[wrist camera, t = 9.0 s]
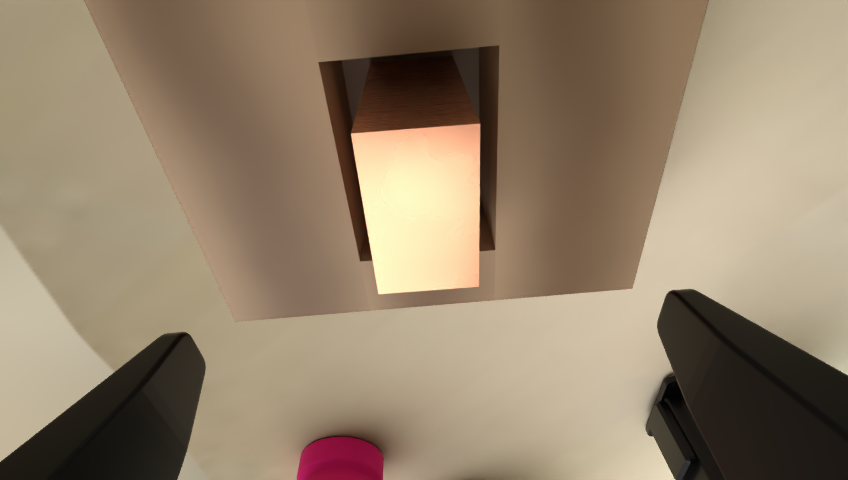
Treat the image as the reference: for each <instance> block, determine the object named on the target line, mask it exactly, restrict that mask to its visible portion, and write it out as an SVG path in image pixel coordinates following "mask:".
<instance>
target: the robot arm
mask: <svg viewBox="0 0 848 480" xmlns="http://www.w3.org/2000/svg"><path fill="white" fill-rule="evenodd" d="M657 329H658V333H659V336H660V339H661V341H662V344H663V346H664V349H665V351H666V354H667V356H668V359H669V361H670V364H671V366H672V369H673V371H674V374H675V376H671V377H668V378H666V379H665V380H664V381H663V384H662V386H661V389H660V392H659V394H658V397H657V400H656V402H655V405H654V407H653V410H652V413H651V415H650V418H649V420H648V423H647V426H646V429H645V430H646V432H647V434H648V435H649V436H654V438H655V440H656V442H657V444H658V446H659V448H660V450H661V452H662V454H663V456H664V458H665V460H666V462H667V464H668V466H669V468H670V470H671V472H672V474H673V476H674V478H675V479H676V480H848V375H846V374H844V373H843V372H841V371H839V370H837V369H835V368H834V367H832V366H830V365H828V364H826V363H825V362H823V361H821V360H819V359H818V358H816V357H814V356H812V355H810V354H809V353H807V352H805V351H803V350H801V349H800V348H798V347H796V346H794V345H793V344H791V343H789V342H787V341H785V340H784V339H782V338H780V337H778V336H777V335H775V334H773V333H771V332H769V331H768V330H766V329H764V328H762V327H760V326H759V325H757V324H755V323H753V322H752V321H750V320H748V319H746V318H744V317H743V316H741V315H739V314H737V313H735V312H734V311H732V310H730V309H728V308H727V307H725V306H723V305H721V304H719V303H718V302H716V301H714V300H712V299H711V298H709V297H707V296H705V295H703V294H702V293H700V292H698V291H696V290H693V289H682V290H672V291H670V292H668V293H667V295H666V297H665V300H664V303H663V306H662V309H661V312H660V315H659V318H658V322H657ZM205 369H206V366H205V361H204V358H203V356H202V354H201V353H200V351H199V349H198V348H197V346H196V344H195V342H194V341H193V339H192V337H191V336H190V335H189V334H188V333H186V332H177V333H167V334H164V335H162V336H160V337H159V338H157V339H156V340H155V341H154V342H152V343H151V344H150V345H149V346H147V347H146V348H145V349H143V350H142V351H141V352H140V353H138V354H137V355H136V356H135V357H133V358H132V359H131V360H129V361H128V362H127V363H126V364H124V365H123V366H122V367H121V368H119V369H118V370H117V371H115V372H114V373H113V374H112V375H110V376H109V377H108V378H107V379H105V380H104V381H103V382H101V383H100V384H99V385H98V386H96V387H95V388H94V389H93V390H91V391H90V392H89V393H87V394H86V395H85V396H84V397H82V398H81V399H80V400H79V401H77V402H76V403H75V404H74V405H72V406H71V407H70V408H68V409H67V410H66V411H65V412H63V413H62V414H61V415H59V416H58V417H57V418H56V419H54V420H53V421H52V422H51V423H49V424H48V425H47V426H45V427H44V428H43V429H42V430H40V431H39V432H38V433H36V434H35V435H34V436H33V437H31V438H30V439H29V440H28V441H26V442H25V443H24V444H23V445H21V446H20V447H19V448H17V449H16V450H15V451H14V452H12V453H11V454H10V455H9V456H7V457H6V458H5V459H3V460H2V461H1V462H0V480H177V479H178V476H179V473H180V470H181V467H182V464H183V461H184V458H185V455H186V452H187V448H188V444H189V441H190V437H191V432H192V428H193V424H194V419H195V415H196V411H197V406H198V402H199V397H200V393H201V389H202V384H203V380H204V376H205Z"/></svg>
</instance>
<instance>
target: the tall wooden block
mask: <svg viewBox="0 0 848 480" xmlns="http://www.w3.org/2000/svg"><path fill="white" fill-rule="evenodd" d="M351 137H352V143H353V149H354V155H355V161H356V166H357V172H358V178H359V184H360V190H361V196H362V201H363V207H364V213H365V219H366V225H367V230H368V236H369V242H370V248H371V254H372V259H373V265H374V271H375V277H376V283H377V288H378V294H388V293H401V292H415V291H428V290H441V289H455V288H468V287H479V216H480V122H479V119H478V117H477V114H476V112H475V109H474V107H473V104H472V102H471V100H470V97H469V95H468V92H467V90H466V87H465V85H464V82H463V80H462V77H461V75H460V72H459V70H458V68H457V65H456V63H455V60H454V58H453V56H443V57H430V58H418V59H405V60H393V61H380V62H371V63H370V66H369V70H368V73H367V77H366V81H365V84H364V88H363V91H362V95H361V99H360V102H359V106H358V110H357V113H356V117H355V120H354V124H353V128H352V131H351Z"/></svg>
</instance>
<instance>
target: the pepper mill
mask: <svg viewBox="0 0 848 480" xmlns="http://www.w3.org/2000/svg"><path fill="white" fill-rule="evenodd" d="M297 480H383V456H382V454H381V452H380V450H379V449H378V448H376V447H375V446H374V445H373V444H371V443H369V442H367V441H364V440H361V439H358V438H352V437H330V438H324V439H320V440H318V441H316V442H313V443H312V444H310V445H309V446H307V447H306V448H305V450H304V451H303V452H302V454H301V458H300V463H299V468H298V473H297Z"/></svg>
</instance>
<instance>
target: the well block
mask: <svg viewBox="0 0 848 480" xmlns="http://www.w3.org/2000/svg"><path fill="white" fill-rule="evenodd" d="M708 1H709V0H84V2H85V4H86V6H87V8H88V10H89V12H90V14H91V16H92V19H93V21H94V23H95V25H96V27H97V29H98V31H99V33H100V36H101V38H102V40H103V42H104V44H105V46H106V48H107V50H108V53H109V55H110V57H111V59H112V61H113V63H114V65H115V67H116V70H117V72H118V74H119V76H120V78H121V80H122V82H123V84H124V87H125V89H126V91H127V93H128V95H129V97H130V99H131V101H132V104H133V106H134V108H135V110H136V112H137V114H138V116H139V118H140V121H141V123H142V125H143V127H144V129H145V131H146V133H147V136H148V138H149V140H150V142H151V144H152V146H153V148H154V150H155V153H156V155H157V157H158V159H159V161H160V163H161V165H162V167H163V170H164V172H165V174H166V176H167V178H168V180H169V182H170V184H171V187H172V189H173V191H174V193H175V195H176V197H177V199H178V201H179V204H180V206H181V208H182V210H183V212H184V214H185V216H186V218H187V221H188V223H189V225H190V227H191V229H192V231H193V233H194V235H195V238H196V240H197V242H198V244H199V246H200V248H201V250H202V252H203V255H204V257H205V259H206V261H207V263H208V265H209V267H210V269H211V272H212V274H213V276H214V278H215V280H216V282H217V284H218V286H219V289H220V291H221V293H222V295H223V297H224V299H225V301H226V303H227V306H228V308H229V310H230V312H231V314H232V316H233V318H234V321H235V322H239V321H251V320H263V319H275V318H287V317H299V316H311V315H323V314H335V313H347V312H359V311H370V310H382V309H394V308H406V307H418V306H430V305H442V304H454V303H466V302H478V301H490V300H502V299H514V298H526V297H538V296H550V295H561V294H573V293H585V292H597V291H609V290H621V289H632V288H633V284H634V280H635V276H636V273H637V269H638V265H639V261H640V257H641V254H642V250H643V246H644V242H645V239H646V235H647V231H648V227H649V223H650V220H651V216H652V212H653V208H654V205H655V201H656V197H657V193H658V189H659V186H660V182H661V178H662V174H663V171H664V167H665V163H666V159H667V156H668V152H669V148H670V144H671V140H672V137H673V133H674V129H675V125H676V122H677V118H678V114H679V110H680V106H681V103H682V99H683V95H684V91H685V88H686V84H687V80H688V76H689V72H690V69H691V65H692V61H693V57H694V54H695V50H696V46H697V42H698V38H699V35H700V31H701V27H702V23H703V20H704V16H705V12H706V8H707V4H708ZM443 56H453V58H454V60H455V63H456V65H457V68H458V70H459V72H460V75H461V77H462V80H463V82H464V85H465V87H466V90H467V92H468V95H469V97H470V100H471V102H472V104H473V107H474V109H475V112H476V114H477V117H478V119H479V122H480V216H479V287H468V288H455V289H441V290H428V291H415V292H401V293H388V294H378V288H377V283H376V277H375V271H374V265H373V259H372V254H371V248H370V242H369V236H368V230H367V225H366V219H365V213H364V207H363V201H362V196H361V190H360V184H359V178H358V172H357V166H356V161H355V155H354V149H353V143H352V137H351V131H352V128H353V124H354V120H355V117H356V113H357V110H358V106H359V102H360V99H361V95H362V91H363V88H364V84H365V81H366V77H367V73H368V70H369V66H370V63H371V62H380V61H393V60H405V59H418V58H430V57H443Z"/></svg>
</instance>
